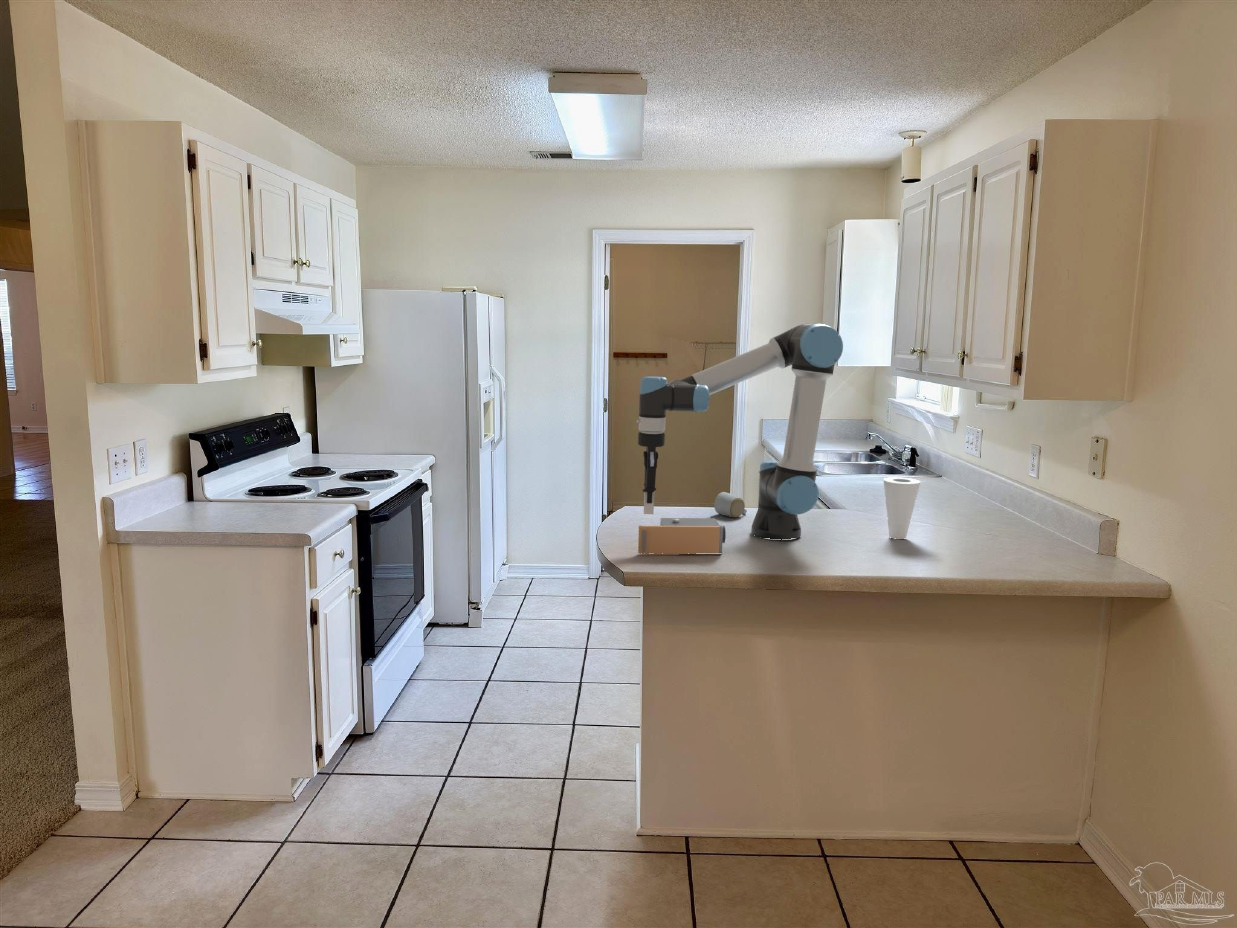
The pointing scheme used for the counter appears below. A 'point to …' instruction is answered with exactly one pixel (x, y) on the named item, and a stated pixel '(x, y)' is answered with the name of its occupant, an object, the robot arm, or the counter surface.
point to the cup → (900, 504)
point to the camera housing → (691, 523)
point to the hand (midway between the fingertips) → (648, 513)
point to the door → (680, 539)
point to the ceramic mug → (729, 505)
